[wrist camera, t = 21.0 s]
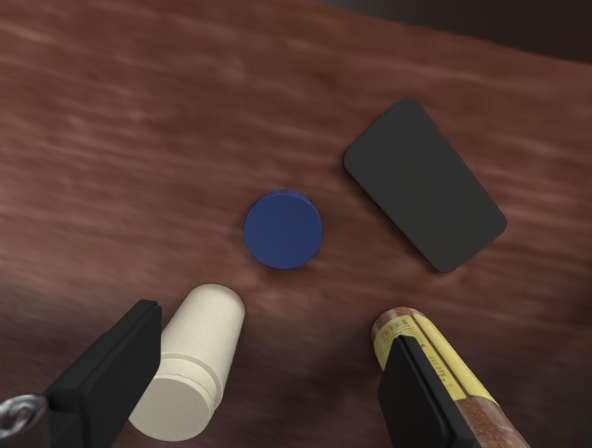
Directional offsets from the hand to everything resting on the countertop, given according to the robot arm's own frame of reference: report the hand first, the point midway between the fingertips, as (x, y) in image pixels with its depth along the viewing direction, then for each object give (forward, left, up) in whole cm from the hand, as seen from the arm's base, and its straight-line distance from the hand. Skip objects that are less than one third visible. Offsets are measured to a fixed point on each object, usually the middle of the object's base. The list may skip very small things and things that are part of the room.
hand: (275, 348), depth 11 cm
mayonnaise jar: (-3, +11, -15) cm, 19 cm away
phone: (-4, -12, -15) cm, 19 cm away
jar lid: (0, 0, -13) cm, 13 cm away
